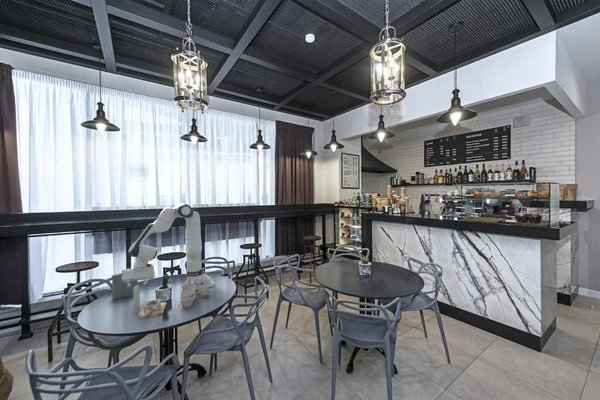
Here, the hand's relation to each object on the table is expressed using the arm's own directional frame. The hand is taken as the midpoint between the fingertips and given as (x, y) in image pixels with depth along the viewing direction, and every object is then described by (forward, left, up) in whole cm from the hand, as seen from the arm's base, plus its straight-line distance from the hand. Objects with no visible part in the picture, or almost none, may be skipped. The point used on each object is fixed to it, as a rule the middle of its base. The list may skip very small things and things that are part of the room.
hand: (136, 285), depth 172 cm
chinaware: (-36, +8, -14) cm, 40 cm away
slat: (0, +3, -14) cm, 14 cm away
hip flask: (+13, -21, -14) cm, 29 cm away
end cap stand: (-12, +15, -14) cm, 24 cm away
